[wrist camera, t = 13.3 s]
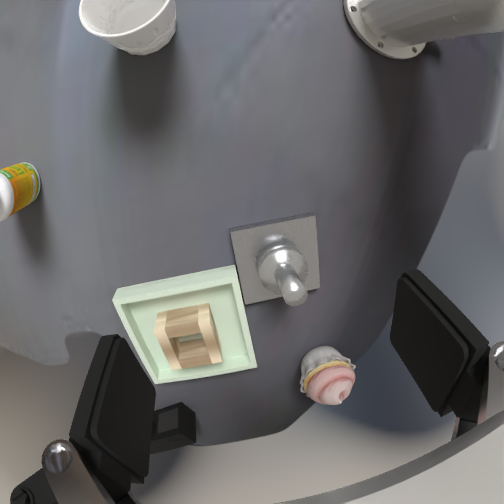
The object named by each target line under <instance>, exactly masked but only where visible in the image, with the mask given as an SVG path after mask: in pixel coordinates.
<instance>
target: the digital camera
mask: <svg viewBox="0 0 504 504" xmlns="http://www.w3.org/2000/svg"><path fill="white" fill-rule="evenodd" d="M185 412H186V413H185ZM194 443H196V425H195V412H193V411H192V410H191V409H189V408H188V407H187V406H186V405H184V404H183V403H182V402H180V403H177V404H174V405H171V406H168V407H165V408H162V409H159V410H156V411H154V414H153V424H152V434H151V444H150V453H151V454H154V453H158V452H163V451H167V450H171V449H175V448H179V447H183V446H187V445H190V444H194Z"/></svg>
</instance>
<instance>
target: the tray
mask: <svg viewBox="0 0 504 504" xmlns="http://www.w3.org/2000/svg"><path fill="white" fill-rule="evenodd" d="M112 301H113V303H114V305H115V307H116V310H117V312H118V314H119V316H120V318H121V320H122V322H123V325H124V327H125V329H126V331H127V333H128V335H129V337H130V339H131V341H132V343H133V345H134V347H135V348H136V350H137V352H138V354H139V356H140V358H141V360H142V362H143V363H144V365H145V367H146V369H147V371H148V372H149V374H150V376H151V378H152V380H153V381H154V383H155V384H158V383H167V382H174V381H182V380H189V379H196V378H202V377H208V376H214V375H220V374H225V373H231V372H236V371H241V370H246V369H251V368H256V367H257V364H256V359H255V355H254V350H253V346H252V341H251V337H250V332H249V328H248V323H247V319H246V314H245V309H244V305H243V300H242V295H241V291H240V286H239V281H238V276H237V272H236V267H235V265H231V266H226V267H221V268H216V269H211V270H206V271H201V272H197V273H192V274H187V275H182V276H177V277H172V278H167V279H162V280H157V281H152V282H147V283H142V284H137V285H132V286H127V287H122V288H117V291H116V293H115V295H114V297H113V300H112ZM204 303H209V305H210V308H211V311H212V315H213V318H214V322H215V325H216V328H217V332H218V335H219V338H220V341H221V350H222V360H223V362H220V363H214V364H208V365H202V366H196V367H190V368H184V369H177V370H172V369H171V367H170V365H169V363H168V361H167V359H166V357H165V355H164V353H163V351H162V348H161V346H160V344H159V342H158V340H157V338H156V335H155V333H154V328H155V322H156V317H157V312H162V311H167V310H173V309H178V308H184V307H189V306H194V305H199V304H204ZM199 338H203V336H202V333H197V334H191V335H185V336H179V337H178V339H179V341H180V342H182V341H188V340H194V339H199Z"/></svg>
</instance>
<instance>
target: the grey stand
mask: <svg viewBox="0 0 504 504" xmlns="http://www.w3.org/2000/svg"><path fill="white" fill-rule="evenodd" d="M230 234H231V239H232V244H233V249H234V254H235V259H236V264H237V269H238V273H239V278H240V283H241V288H242V293H243V297H244V302H245V305H246V304H251V303H255V302H260V301H265V300H269V299H274V298H278V297H282V296H283V298H284V300H285V302H286V304H287V305H289V306H299V305H301V304H303V303H304V302H305V301H306V299H307V296H308V292H307V291H308V290H312V289H317V288H320V279H319V260H318V244H317V230H316V218H315V215H314V214H313V213H307V214H302V215H297V216H291V217H286V218H281V219H276V220H270V221H265V222H260V223H255V224H250V225H245V226H240V227H235V228H230Z"/></svg>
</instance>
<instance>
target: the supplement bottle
mask: <svg viewBox="0 0 504 504" xmlns="http://www.w3.org/2000/svg"><path fill="white" fill-rule="evenodd" d="M39 191H40V177H39V174H38V172H37V170H36V168H35V167H34V166H33V165H31V164H29V163H25V162H23V163H19V164H16V165H13V166H10V167H7V168H4V169H1V170H0V221H2V220H4V219H6V218H8V217H9V216H11V215H12V214H14V213H15V212H17V211H19V210H20V209H22V208H24V207H25V206H27V205H29V204H30V203H32V202H33V201H34V200H35V199H36V198H37V196H38V194H39Z"/></svg>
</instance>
